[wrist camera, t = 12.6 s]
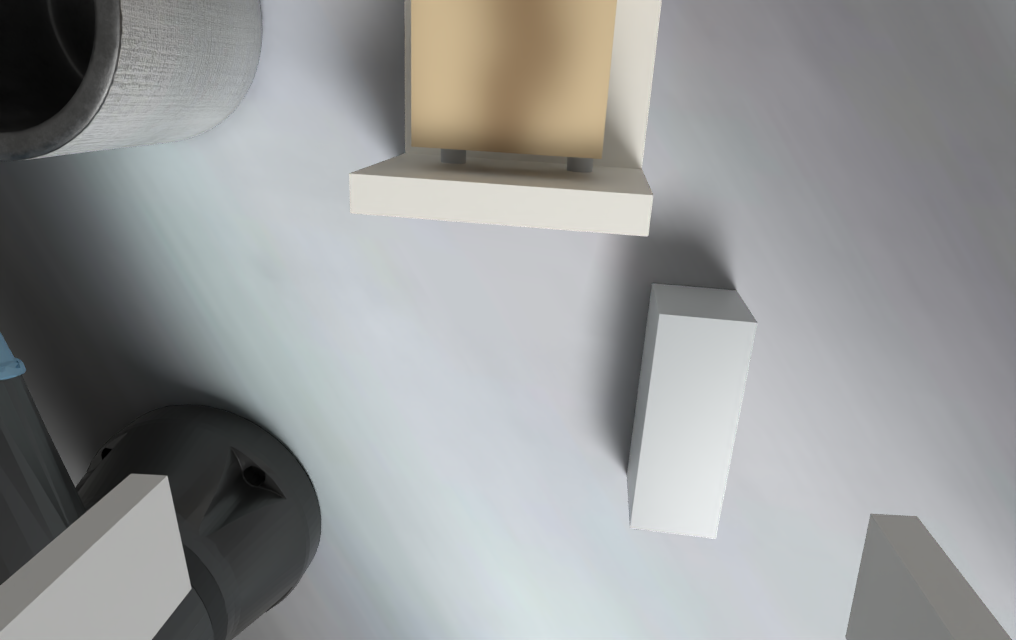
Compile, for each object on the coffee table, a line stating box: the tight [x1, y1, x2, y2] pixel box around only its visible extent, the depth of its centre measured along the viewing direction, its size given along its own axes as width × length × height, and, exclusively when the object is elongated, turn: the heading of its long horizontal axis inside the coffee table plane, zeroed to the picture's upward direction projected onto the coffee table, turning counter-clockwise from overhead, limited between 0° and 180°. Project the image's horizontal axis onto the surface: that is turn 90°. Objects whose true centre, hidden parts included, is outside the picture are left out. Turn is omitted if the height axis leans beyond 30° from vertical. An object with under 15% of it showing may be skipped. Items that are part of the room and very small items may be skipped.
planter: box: [0, 0, 262, 161], centre depth 29 cm, size 13×12×11 cm
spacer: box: [627, 283, 757, 539], centre depth 35 cm, size 4×12×5 cm, turn 177°
